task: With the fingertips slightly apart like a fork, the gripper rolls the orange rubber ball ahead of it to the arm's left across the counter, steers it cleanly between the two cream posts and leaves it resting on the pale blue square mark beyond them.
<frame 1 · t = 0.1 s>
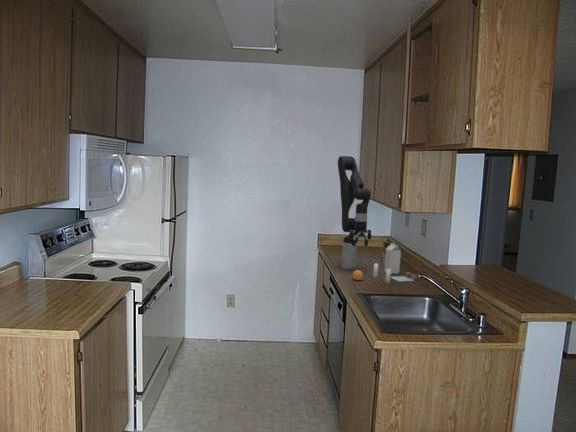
hand: (359, 246, 303), 17 cm above the worktop, tool pointing down, fingers open, 8 cm apart
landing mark: (401, 278, 295), on the worktop
right post: (387, 282, 283), on the worktop
backstop strip: (410, 278, 297), on the worktop
left post: (375, 276, 298), on the worktop
milk carton: (391, 272, 312), on the worktop
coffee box: (387, 266, 334), on the worktop
ball: (357, 275, 285), on the worktop
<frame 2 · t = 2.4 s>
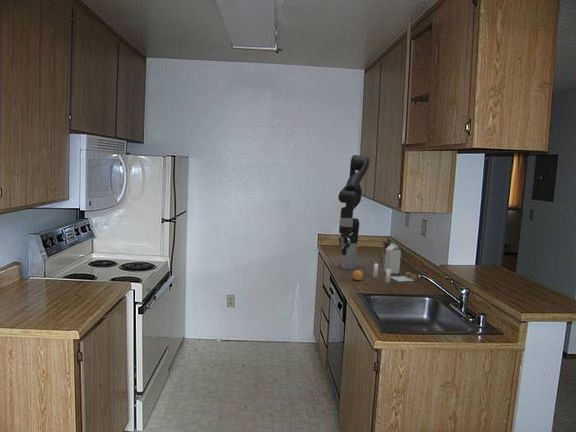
hand: (344, 254, 280), 15 cm above the worktop, tool pointing down, fingers closed
nothing on the worktop moved.
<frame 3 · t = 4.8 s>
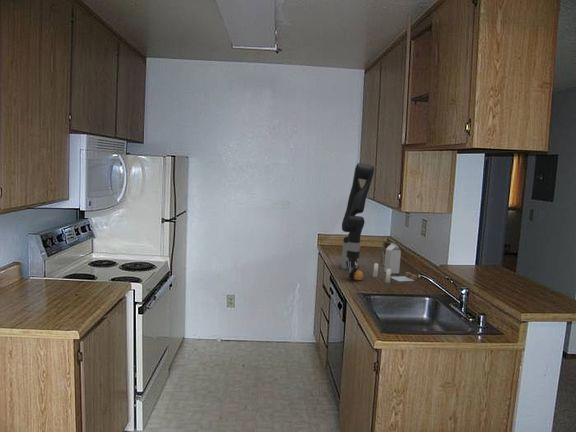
hand: (351, 278, 284), 1 cm above the worktop, tool pointing down, fingers closed
ball: (357, 275, 285), on the worktop, touching gripper
everything else where it was.
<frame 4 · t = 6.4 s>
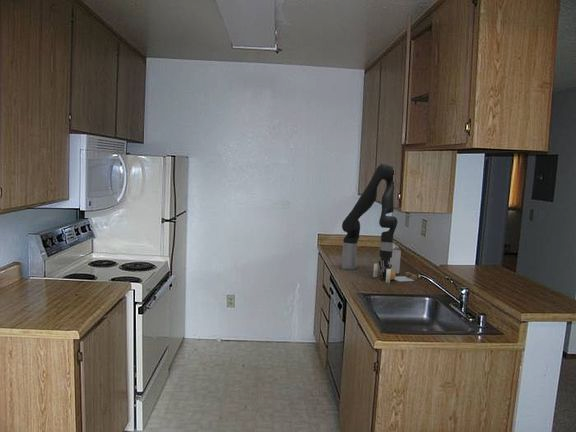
hand: (384, 277, 290), 1 cm above the worktop, tool pointing down, fingers closed
ball: (390, 274, 291), on the worktop, touching gripper
everything else where it was.
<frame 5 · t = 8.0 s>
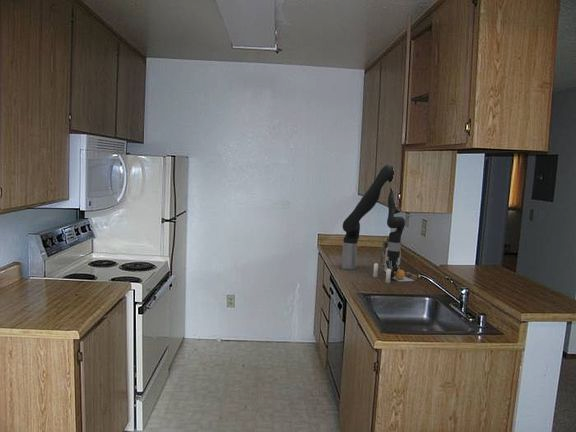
hand: (391, 277, 293), 1 cm above the worktop, tool pointing down, fingers closed
ball: (399, 274, 293), on the worktop
everything else where it was.
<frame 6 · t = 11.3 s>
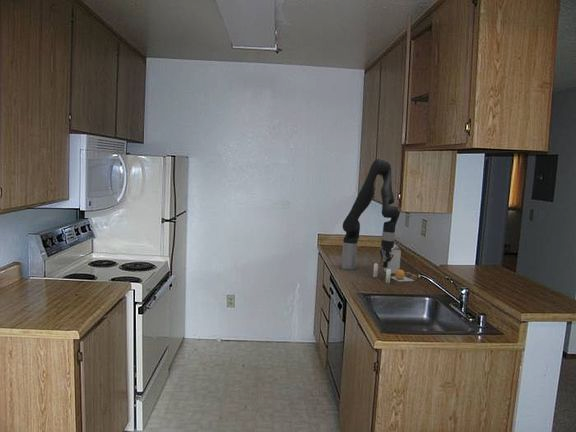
hand: (385, 267, 290), 7 cm above the worktop, tool pointing down, fingers closed
nothing on the worktop moved.
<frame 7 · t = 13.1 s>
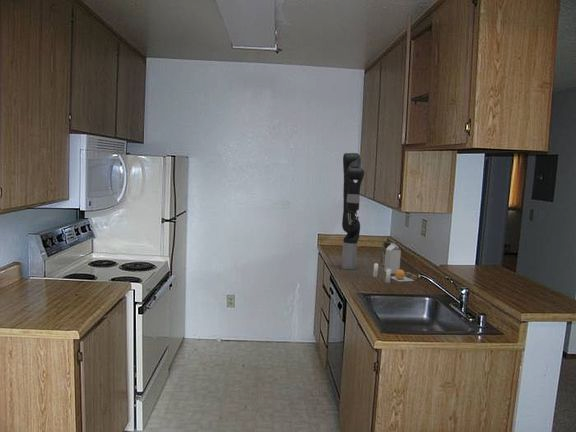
hand: (351, 231, 285), 29 cm above the worktop, tool pointing down, fingers closed
nothing on the worktop moved.
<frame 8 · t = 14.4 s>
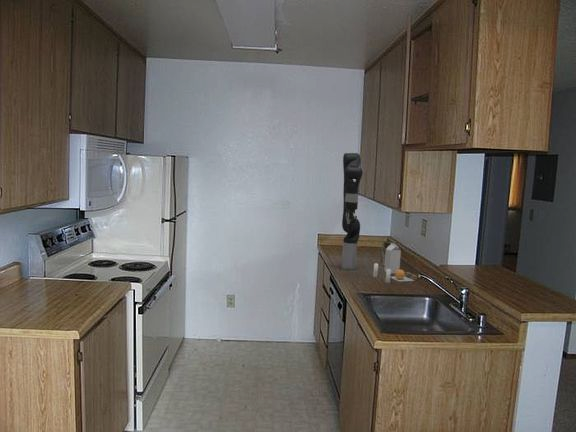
hand: (349, 230, 285), 29 cm above the worktop, tool pointing down, fingers closed
nothing on the worktop moved.
at the end: ball 1.9 cm from the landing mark (horizontally); ball never touched left post; ball never touched right post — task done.
